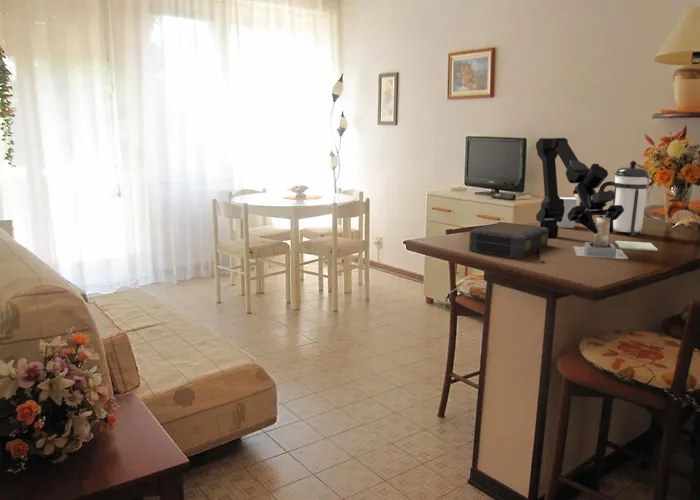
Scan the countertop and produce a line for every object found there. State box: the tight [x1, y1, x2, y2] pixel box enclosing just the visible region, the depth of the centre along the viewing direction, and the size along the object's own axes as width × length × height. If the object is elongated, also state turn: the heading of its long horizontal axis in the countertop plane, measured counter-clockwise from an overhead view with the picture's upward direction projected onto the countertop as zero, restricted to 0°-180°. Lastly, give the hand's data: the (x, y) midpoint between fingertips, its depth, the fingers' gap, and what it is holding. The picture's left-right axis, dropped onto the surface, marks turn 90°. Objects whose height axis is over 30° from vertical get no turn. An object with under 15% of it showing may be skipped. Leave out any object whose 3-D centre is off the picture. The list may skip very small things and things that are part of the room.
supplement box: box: [557, 196, 577, 229], centre depth 255 cm, size 7×7×13 cm
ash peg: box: [593, 216, 610, 247], centre depth 198 cm, size 4×4×12 cm
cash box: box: [468, 221, 549, 260], centre depth 207 cm, size 25×20×8 cm
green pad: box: [615, 240, 658, 252], centre depth 211 cm, size 12×12×2 cm
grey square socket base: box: [572, 241, 629, 260], centre depth 199 cm, size 16×16×4 cm
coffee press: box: [598, 160, 652, 238], centre depth 239 cm, size 17×16×30 cm
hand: (604, 232), depth 197 cm, fingers open, 6 cm apart
